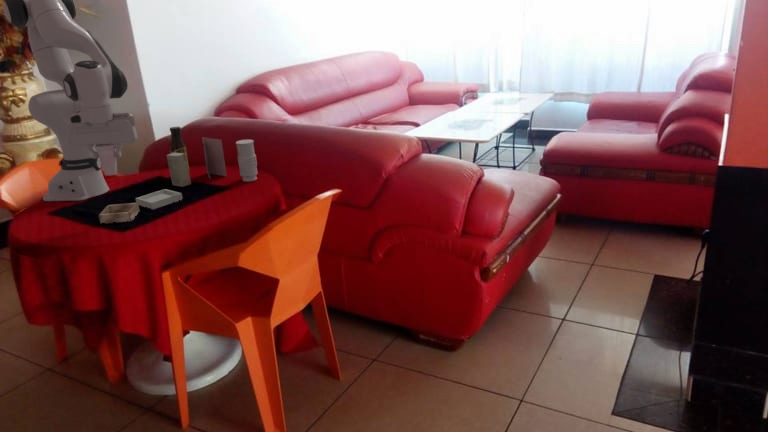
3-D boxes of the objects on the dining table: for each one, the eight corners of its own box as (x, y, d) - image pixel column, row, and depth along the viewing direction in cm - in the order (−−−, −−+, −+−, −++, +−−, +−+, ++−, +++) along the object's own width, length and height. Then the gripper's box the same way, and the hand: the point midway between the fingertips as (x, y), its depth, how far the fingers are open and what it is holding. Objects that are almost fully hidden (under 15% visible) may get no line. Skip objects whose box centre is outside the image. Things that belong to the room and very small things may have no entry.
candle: (256, 181, 231) (251, 143, 225) (238, 182, 231) (233, 144, 226) (260, 176, 237) (255, 139, 232) (242, 176, 237) (238, 139, 232)
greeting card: (205, 173, 245) (199, 137, 239) (223, 170, 247) (218, 135, 242) (208, 180, 235) (202, 143, 229) (227, 177, 237) (222, 140, 232)
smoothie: (113, 176, 190) (105, 133, 185) (96, 176, 191) (86, 133, 186) (125, 171, 196) (117, 129, 191) (108, 170, 197) (99, 129, 192)
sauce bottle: (181, 178, 239) (172, 129, 232) (170, 176, 242) (162, 128, 235) (193, 174, 244) (185, 126, 237) (183, 172, 247) (175, 125, 240)
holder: (100, 223, 194) (98, 215, 193) (109, 213, 203) (107, 205, 202) (132, 221, 195) (130, 212, 194) (139, 210, 204) (137, 202, 203)
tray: (152, 209, 205) (151, 202, 204) (136, 204, 210) (135, 198, 210) (182, 199, 214) (181, 193, 213) (166, 195, 219) (165, 188, 218)
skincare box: (191, 184, 231) (186, 153, 227) (182, 187, 228) (177, 156, 223) (180, 182, 234) (175, 151, 230) (171, 185, 231) (166, 154, 227)
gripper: (135, 110, 191) (143, 152, 196) (68, 114, 189) (78, 157, 193) (130, 114, 185) (138, 157, 190) (61, 118, 183) (71, 162, 188)
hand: (107, 157), depth 192 cm, fingers closed on smoothie, 5 cm apart
